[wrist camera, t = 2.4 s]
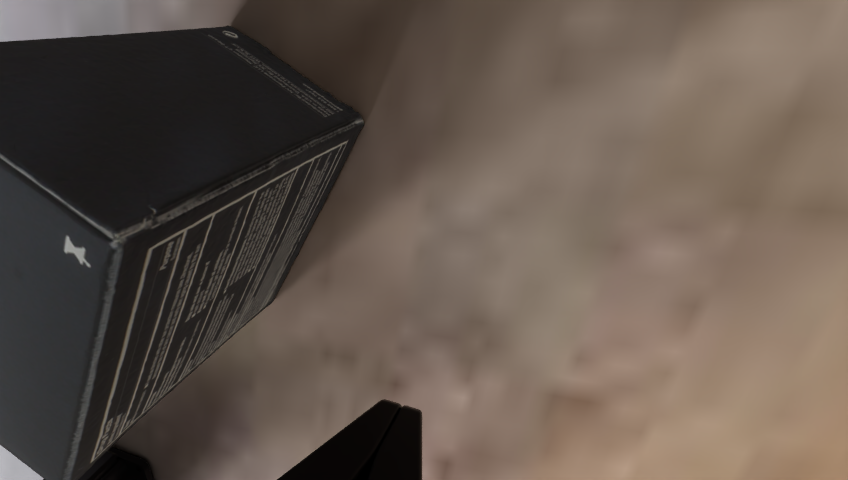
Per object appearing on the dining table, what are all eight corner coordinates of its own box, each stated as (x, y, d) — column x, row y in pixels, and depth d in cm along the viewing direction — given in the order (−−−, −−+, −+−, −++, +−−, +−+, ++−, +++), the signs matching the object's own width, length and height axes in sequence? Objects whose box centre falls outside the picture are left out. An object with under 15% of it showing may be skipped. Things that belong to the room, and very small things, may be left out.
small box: (222, 12, 17) (-182, 25, 8) (372, 116, 17) (132, 242, 8) (161, 225, 23) (-121, 373, 14) (275, 304, 23) (68, 504, 14)
